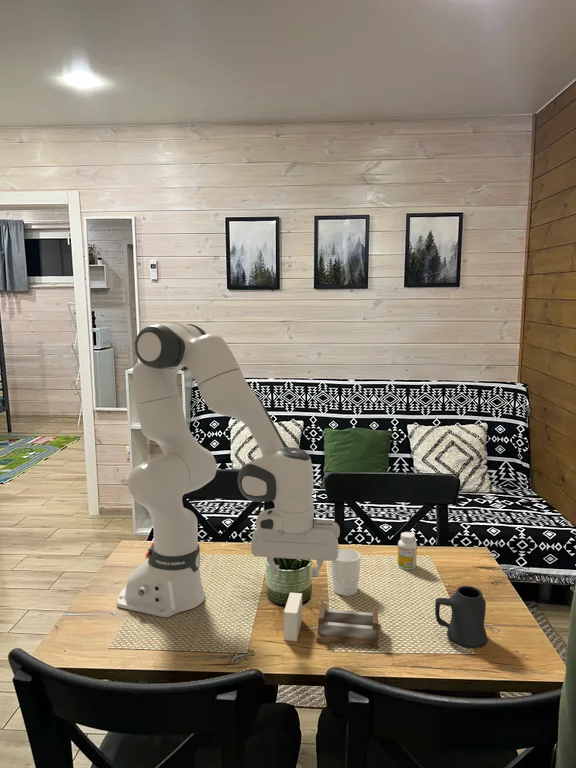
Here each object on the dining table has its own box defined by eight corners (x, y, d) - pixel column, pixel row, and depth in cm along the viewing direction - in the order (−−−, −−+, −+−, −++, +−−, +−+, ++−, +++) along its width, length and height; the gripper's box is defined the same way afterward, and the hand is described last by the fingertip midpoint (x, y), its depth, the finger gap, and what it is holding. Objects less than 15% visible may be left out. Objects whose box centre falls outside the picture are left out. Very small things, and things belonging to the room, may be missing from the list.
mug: (484, 627, 138) (486, 583, 137) (490, 650, 130) (493, 603, 128) (432, 622, 141) (434, 579, 139) (435, 644, 132) (437, 598, 130)
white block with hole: (296, 641, 133) (296, 613, 132) (281, 640, 133) (281, 611, 132) (302, 620, 141) (302, 593, 140) (287, 618, 142) (287, 592, 141)
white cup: (358, 598, 151) (359, 562, 150) (328, 595, 153) (329, 559, 152) (360, 584, 159) (361, 549, 158) (332, 581, 161) (333, 547, 159)
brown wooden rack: (316, 641, 132) (316, 621, 132) (320, 618, 142) (321, 599, 141) (378, 647, 130) (378, 627, 130) (378, 623, 140) (379, 604, 139)
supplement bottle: (404, 559, 174) (405, 529, 172) (419, 566, 170) (421, 534, 168) (393, 565, 170) (394, 534, 169) (408, 571, 166) (410, 540, 165)
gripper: (340, 515, 134) (340, 571, 136) (254, 511, 138) (256, 566, 140) (338, 525, 128) (338, 584, 130) (248, 521, 132) (250, 578, 134)
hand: (295, 574), depth 135 cm, fingers open, 8 cm apart
